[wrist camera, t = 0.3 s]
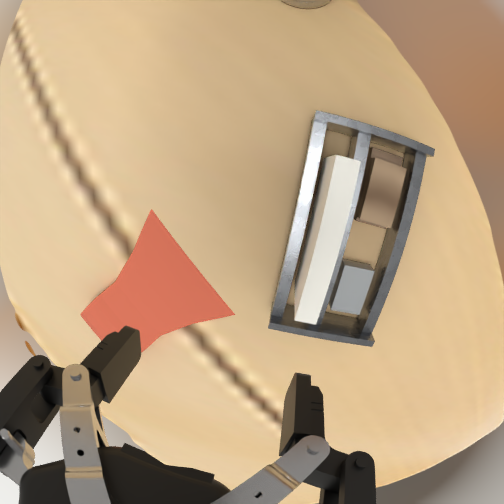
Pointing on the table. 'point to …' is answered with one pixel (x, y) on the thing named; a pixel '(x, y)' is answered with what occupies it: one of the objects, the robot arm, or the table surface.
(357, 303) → the offcut
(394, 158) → the offcut
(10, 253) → the table surface
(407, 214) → the rack
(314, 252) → the white flat board
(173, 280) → the sheet
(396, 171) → the offcut
